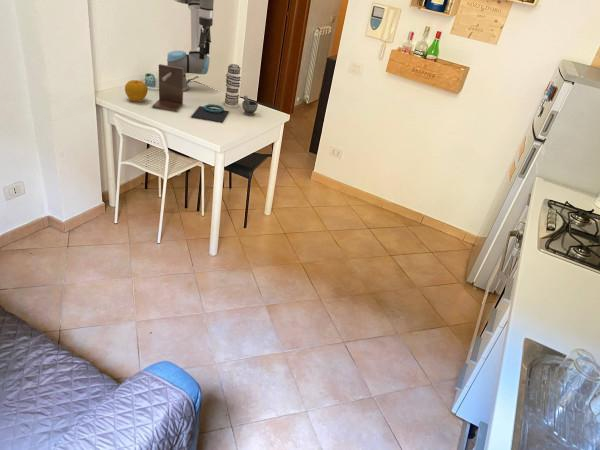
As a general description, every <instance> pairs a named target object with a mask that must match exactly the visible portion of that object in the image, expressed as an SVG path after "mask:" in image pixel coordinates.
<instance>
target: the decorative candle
mask: <svg viewBox="0 0 600 450" xmlns="http://www.w3.org/2000/svg"><path fill="white" fill-rule="evenodd" d="M226 72H227V73H226V75H225V77H226V78H225V83H226V84H225V87H226V90H225V95H224V96H225V98H224V105H225V106H226V107H228V108H229V107H230V108H237V107H238V106H239V99H240V98H239V97H240V93H239V89H240V87H241V83H240V82H241V79H242V77H241V67H240V65H239V64H236V63H231V64H229V65H228V66H227V71H226Z"/></svg>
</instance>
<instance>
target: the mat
mask: <svg viewBox="0 0 600 450" xmlns="http://www.w3.org/2000/svg"><path fill="white" fill-rule="evenodd" d="M208 109H211V110H221V109H219V108H215V107H209V108H208ZM228 114H229V110H227V109H224V111H223V112H221V113H210V112H207V111H205V110H204V106H202V105H199V106H198V107H197V109H195V111H194V112H193V114H191V116H190V118H191V119H197V120H203V121H208V122H214V123H223V122H224V121H225V119H226V118H227V116H228Z"/></svg>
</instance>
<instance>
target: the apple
mask: <svg viewBox="0 0 600 450" xmlns="http://www.w3.org/2000/svg"><path fill="white" fill-rule="evenodd" d="M148 89H149V88H148V85H147V84H146V83H145V82H144V81H141V80H139V79H135V80H134V79H132V80H129V81H127V82H126V84H125V86H124V92H125V95H126V97H128V99H129V100H130V101H132V103H133V102H135V103H139V102H142V101H144V99H145V98H146V96H147V94H148V91H149V90H148Z"/></svg>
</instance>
